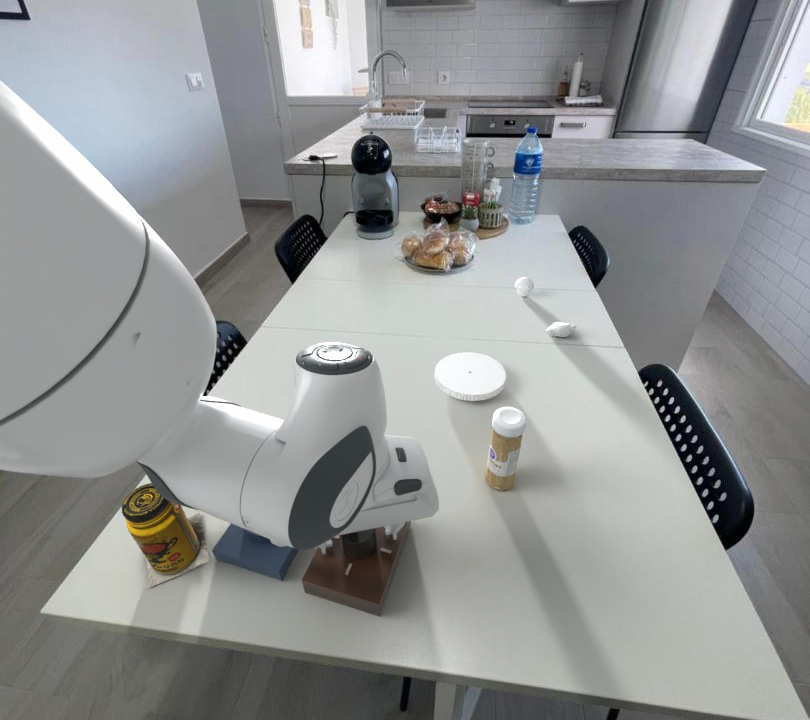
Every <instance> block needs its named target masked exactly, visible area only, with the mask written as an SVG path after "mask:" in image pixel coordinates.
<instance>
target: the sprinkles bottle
mask: <svg viewBox="0 0 810 720" xmlns="http://www.w3.org/2000/svg"><path fill="white" fill-rule="evenodd" d="M491 426H492V432H491V438H490V444H489V449H488V456H487V462H486V465H487V466H486V471H485V474H484V479H485V483H486V484H487V485H488V486H489V487H490V488H492V489H494V490H496V491H507V490H509V489H511V488H512V487H513V486H514V484H515V476H516V471H517V468H518V463H519V457H520V452H521V447H522V440H523V434H524V433H525V430H526V426H527V417H526V415H525V413H524V412H522V411H521V410H520V409H519V408H517V407H513V406H502V407H500V408H497V409H496V410H495V411H494V412H493V415H492V420H491Z"/></svg>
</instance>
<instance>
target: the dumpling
mask: <svg viewBox="0 0 810 720" xmlns="http://www.w3.org/2000/svg"><path fill="white" fill-rule="evenodd" d="M577 328H578V325H575V324H573V323H569V322H563V321H555V322H553V323H552V324H551V325H550V326H549V327H548V328H547V329H546V330H545V333H546V334H547V335H549V336H552V337H559V338H567V337H569V336H571V335H572V334H573V333H574V332H575V330H576V329H577Z"/></svg>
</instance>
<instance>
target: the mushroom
mask: <svg viewBox="0 0 810 720" xmlns="http://www.w3.org/2000/svg"><path fill="white" fill-rule="evenodd" d="M514 288H515V289H516V291H517V295H518V296H520V297H522V298H523V297H527V296H529V295H530V294H532V293H533V291H534V289H535V284H534V281H533V280H532V279H531V278H529V277H526V276H524V277H523V276H522V277H520V278H519V279H517V280H516V282H515V284H514Z"/></svg>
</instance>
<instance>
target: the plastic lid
mask: <svg viewBox="0 0 810 720" xmlns="http://www.w3.org/2000/svg"><path fill="white" fill-rule="evenodd" d="M506 381H507V371H506V369H505V367H504V366H503V365H502V363H500V362H499V361H498V360H497V359H494V357H492V356H489V355H487V354H483V353H480V352H479V353H478V352H472V351H470V352H469V351H467V352H466V351H464V352H463V351H461V352H455V353H452V354H449V355H446V356H445V357H443V358H441V359H440V360H439V361H438V363H436V364H435V368H434V382H435V384H436V386H437V387H438V389H440V391H441V392H443V393H444V395H445V394H446V395H447V396H449V397H451V398H455V399H456V400H457V399H458V400H459V401H460V400H461V401H465V402H466V401H468V402H470V401H471V402H477V401H478V402H480V401H486V400H489V399H492V398H494V397H497V395H499V394H501V392H502V391H503V390H504V389H505V386H506Z"/></svg>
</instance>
